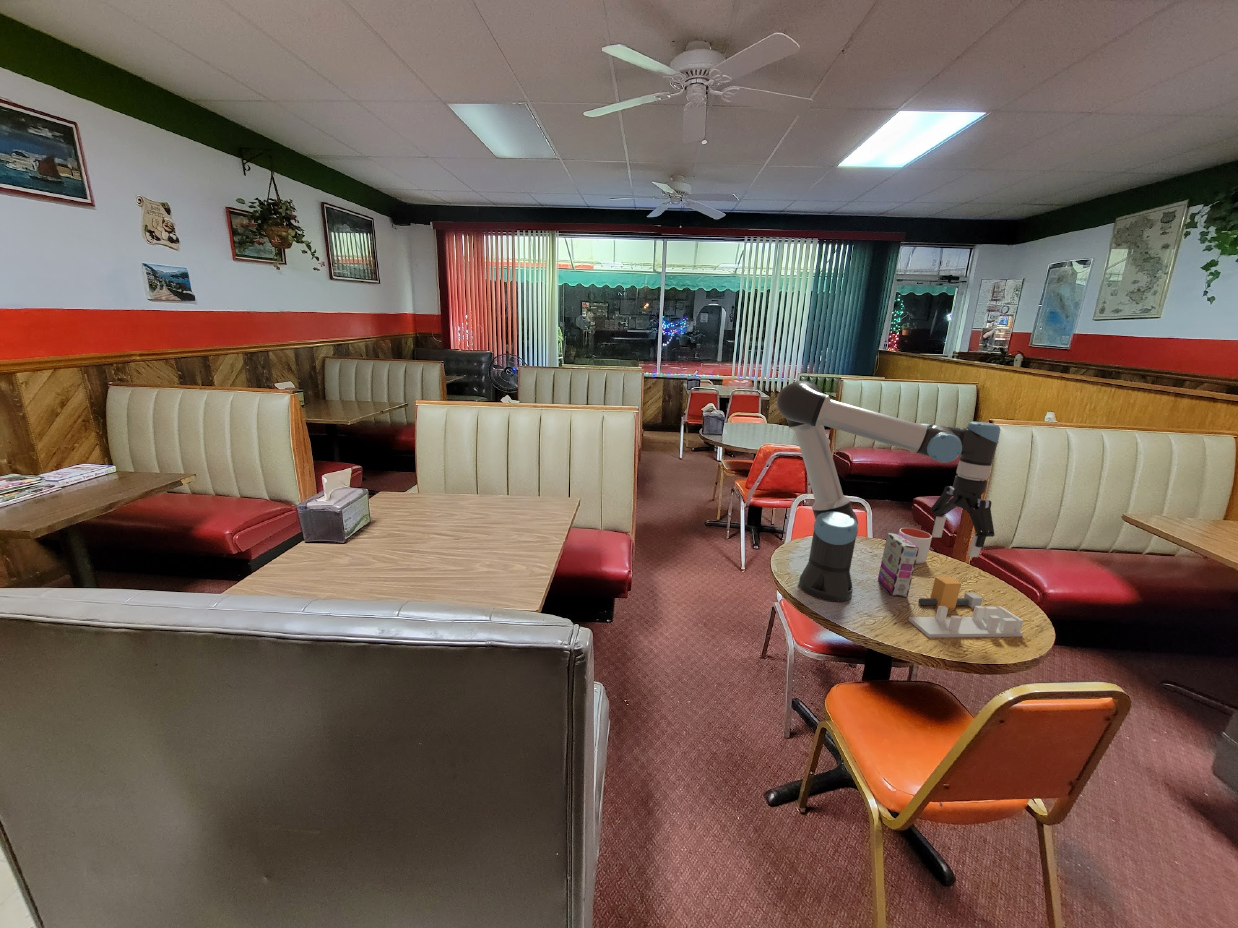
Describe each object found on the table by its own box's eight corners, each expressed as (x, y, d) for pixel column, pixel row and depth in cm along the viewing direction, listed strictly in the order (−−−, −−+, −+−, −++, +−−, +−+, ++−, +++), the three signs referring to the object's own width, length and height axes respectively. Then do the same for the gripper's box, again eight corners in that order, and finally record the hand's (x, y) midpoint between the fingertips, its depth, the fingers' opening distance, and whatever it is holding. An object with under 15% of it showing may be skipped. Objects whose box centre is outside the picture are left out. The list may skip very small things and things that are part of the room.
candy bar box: (909, 597, 148) (920, 547, 144) (891, 596, 148) (902, 546, 144) (893, 580, 158) (903, 533, 154) (877, 578, 159) (886, 531, 155)
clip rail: (928, 637, 128) (932, 620, 126) (908, 620, 135) (912, 604, 134) (1022, 636, 130) (1027, 619, 129) (997, 619, 138) (1001, 603, 137)
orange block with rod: (925, 608, 142) (930, 583, 140) (915, 601, 146) (921, 576, 144) (981, 608, 144) (988, 583, 142) (970, 601, 148) (977, 577, 146)
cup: (927, 567, 169) (933, 540, 167) (895, 560, 173) (900, 534, 171) (924, 556, 178) (930, 531, 176) (893, 550, 182) (898, 525, 180)
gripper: (1024, 491, 126) (1002, 565, 132) (948, 465, 150) (933, 529, 156) (998, 490, 125) (978, 565, 131) (927, 465, 149) (912, 529, 155)
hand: (953, 546), depth 143 cm, fingers open, 13 cm apart
